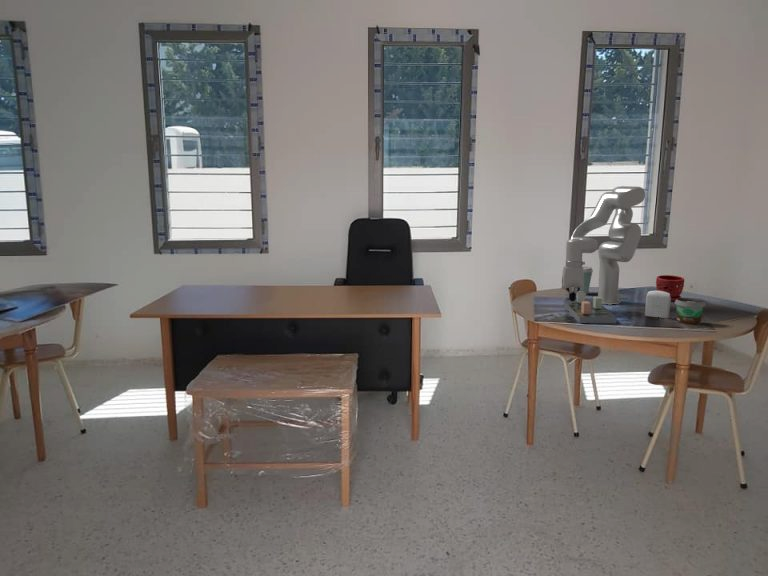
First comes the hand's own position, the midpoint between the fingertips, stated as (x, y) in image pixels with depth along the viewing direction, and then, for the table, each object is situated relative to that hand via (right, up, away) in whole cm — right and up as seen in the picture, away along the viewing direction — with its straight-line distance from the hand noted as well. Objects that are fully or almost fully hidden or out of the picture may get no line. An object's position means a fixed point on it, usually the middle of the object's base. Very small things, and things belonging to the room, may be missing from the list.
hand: (572, 300), depth 283 cm
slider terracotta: (-1, -6, -21) cm, 22 cm away
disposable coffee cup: (+17, +3, +36) cm, 39 cm away
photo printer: (+34, -7, -17) cm, 39 cm away
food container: (+43, -9, -29) cm, 52 cm away
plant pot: (+56, 0, +17) cm, 59 cm away
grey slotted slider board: (+4, -6, -11) cm, 13 cm away
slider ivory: (+4, -1, 0) cm, 4 cm away
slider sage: (+8, -3, -11) cm, 14 cm away
